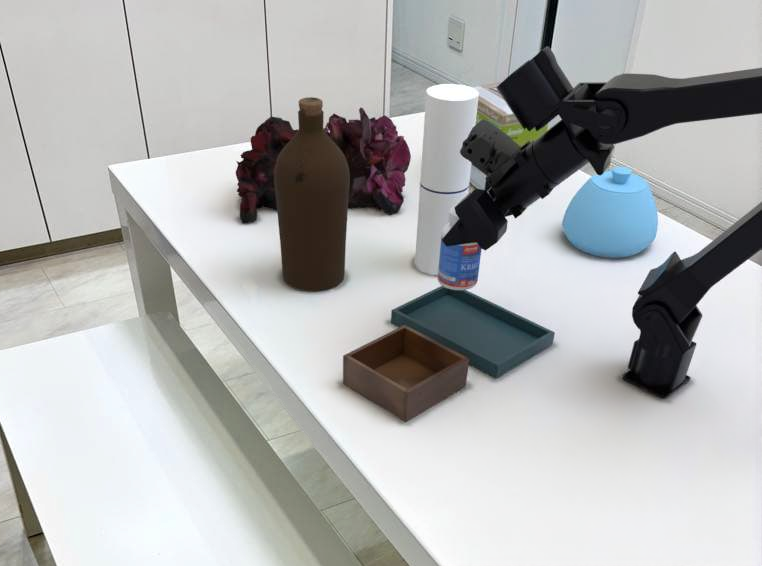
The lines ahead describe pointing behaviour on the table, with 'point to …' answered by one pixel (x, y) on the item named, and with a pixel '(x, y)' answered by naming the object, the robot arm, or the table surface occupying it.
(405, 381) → the open box
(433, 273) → the cylindrical container
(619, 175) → the sugar bowl
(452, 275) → the pill bottle
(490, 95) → the tea box
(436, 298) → the tray
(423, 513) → the table surface
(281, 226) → the olive oil
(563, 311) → the table surface
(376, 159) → the flower arrangement
